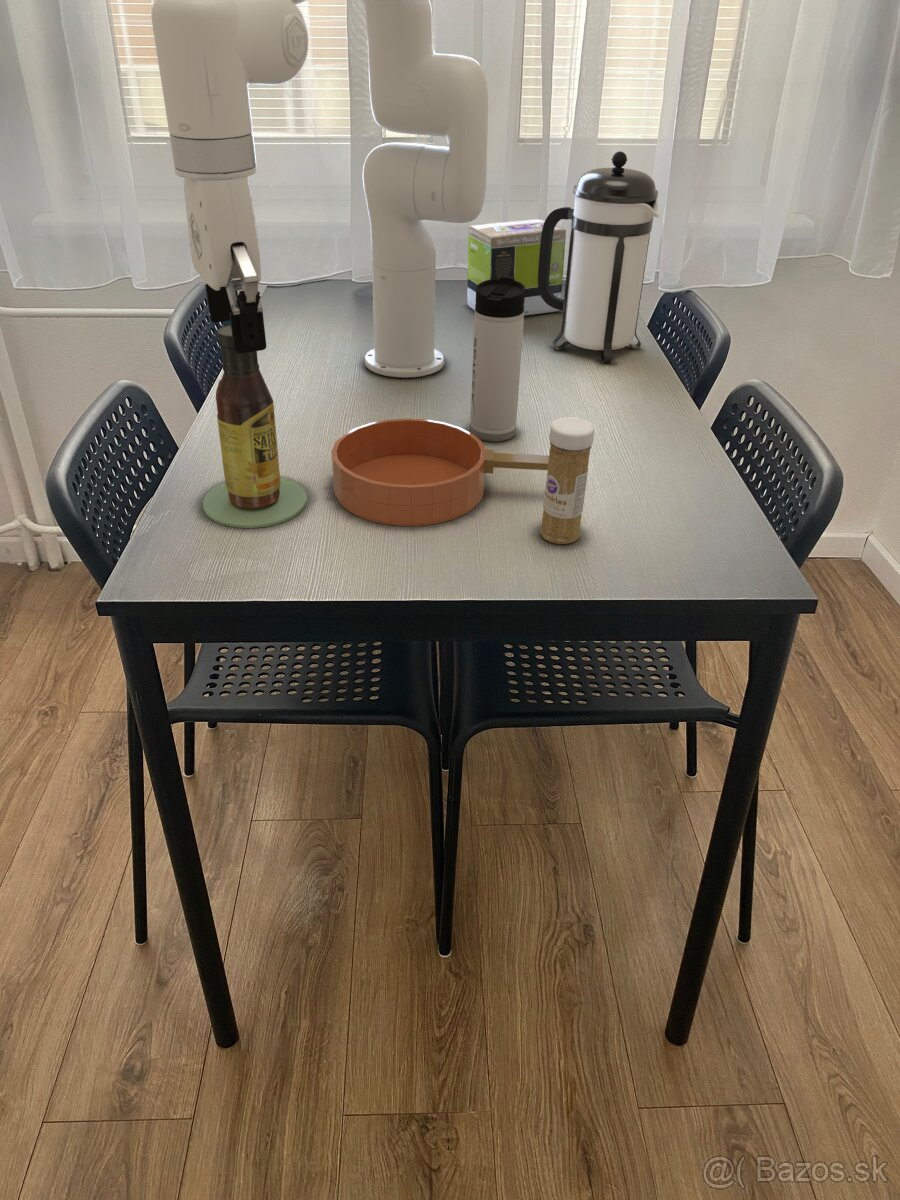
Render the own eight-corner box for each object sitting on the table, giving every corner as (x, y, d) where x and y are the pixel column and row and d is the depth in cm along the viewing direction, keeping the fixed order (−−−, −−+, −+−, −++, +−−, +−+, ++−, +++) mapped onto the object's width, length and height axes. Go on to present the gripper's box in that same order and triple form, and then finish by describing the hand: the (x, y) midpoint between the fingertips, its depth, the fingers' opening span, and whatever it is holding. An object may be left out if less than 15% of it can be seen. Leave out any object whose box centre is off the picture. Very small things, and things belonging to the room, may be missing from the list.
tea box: (535, 297, 171) (541, 216, 162) (561, 313, 164) (569, 229, 155) (465, 305, 166) (467, 222, 157) (488, 322, 158) (492, 235, 150)
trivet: (192, 489, 105) (192, 486, 105) (289, 471, 110) (288, 468, 110) (217, 537, 97) (216, 534, 97) (321, 515, 101) (320, 512, 101)
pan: (313, 469, 110) (310, 433, 107) (444, 444, 117) (444, 409, 114) (367, 539, 97) (366, 499, 94) (510, 506, 104) (513, 468, 101)
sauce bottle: (270, 515, 100) (251, 344, 89) (219, 508, 101) (193, 338, 89) (290, 488, 105) (275, 323, 94) (241, 482, 106) (220, 318, 95)
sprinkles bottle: (531, 535, 99) (542, 424, 91) (554, 520, 101) (566, 411, 94) (565, 550, 96) (579, 437, 88) (588, 534, 99) (603, 423, 91)
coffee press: (630, 332, 156) (657, 143, 138) (649, 365, 143) (681, 161, 125) (532, 330, 155) (547, 141, 138) (543, 363, 142) (561, 158, 125)
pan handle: (483, 473, 104) (483, 459, 103) (483, 462, 106) (484, 449, 105) (579, 478, 103) (581, 464, 102) (578, 467, 106) (580, 453, 104)
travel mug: (521, 426, 122) (532, 278, 111) (508, 445, 117) (518, 293, 106) (478, 419, 124) (485, 273, 112) (463, 437, 119) (469, 287, 107)
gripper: (155, 141, 87) (183, 314, 97) (195, 176, 74) (223, 370, 85) (230, 137, 90) (250, 305, 100) (281, 170, 77) (298, 358, 87)
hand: (237, 335), depth 92 cm, fingers open, 9 cm apart
